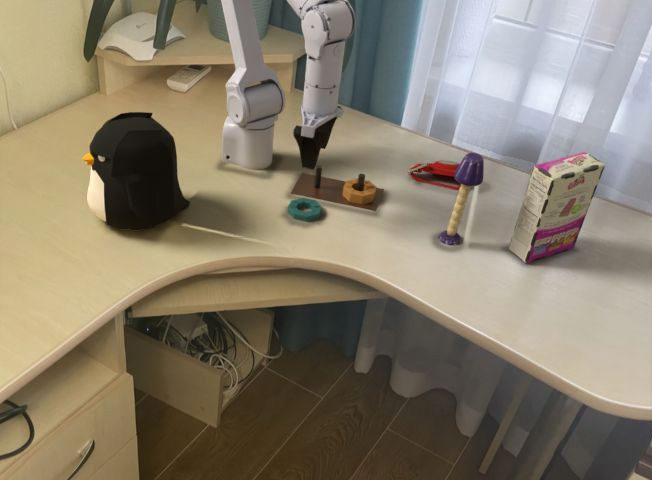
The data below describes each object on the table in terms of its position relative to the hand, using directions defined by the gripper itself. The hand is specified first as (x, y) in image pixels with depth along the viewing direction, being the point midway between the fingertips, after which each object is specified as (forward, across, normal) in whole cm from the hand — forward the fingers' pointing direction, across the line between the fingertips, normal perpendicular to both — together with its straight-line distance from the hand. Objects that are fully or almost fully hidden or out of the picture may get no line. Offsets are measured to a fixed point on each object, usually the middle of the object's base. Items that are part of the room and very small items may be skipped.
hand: (314, 157), depth 130 cm
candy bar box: (+9, +1, -41) cm, 42 cm away
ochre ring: (+8, +5, -8) cm, 13 cm away
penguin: (+10, -14, +27) cm, 32 cm away
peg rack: (+9, +5, -4) cm, 11 cm away
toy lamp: (+9, -3, -26) cm, 28 cm away
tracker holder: (+10, +18, -21) cm, 29 cm away
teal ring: (+9, -4, 0) cm, 10 cm away
